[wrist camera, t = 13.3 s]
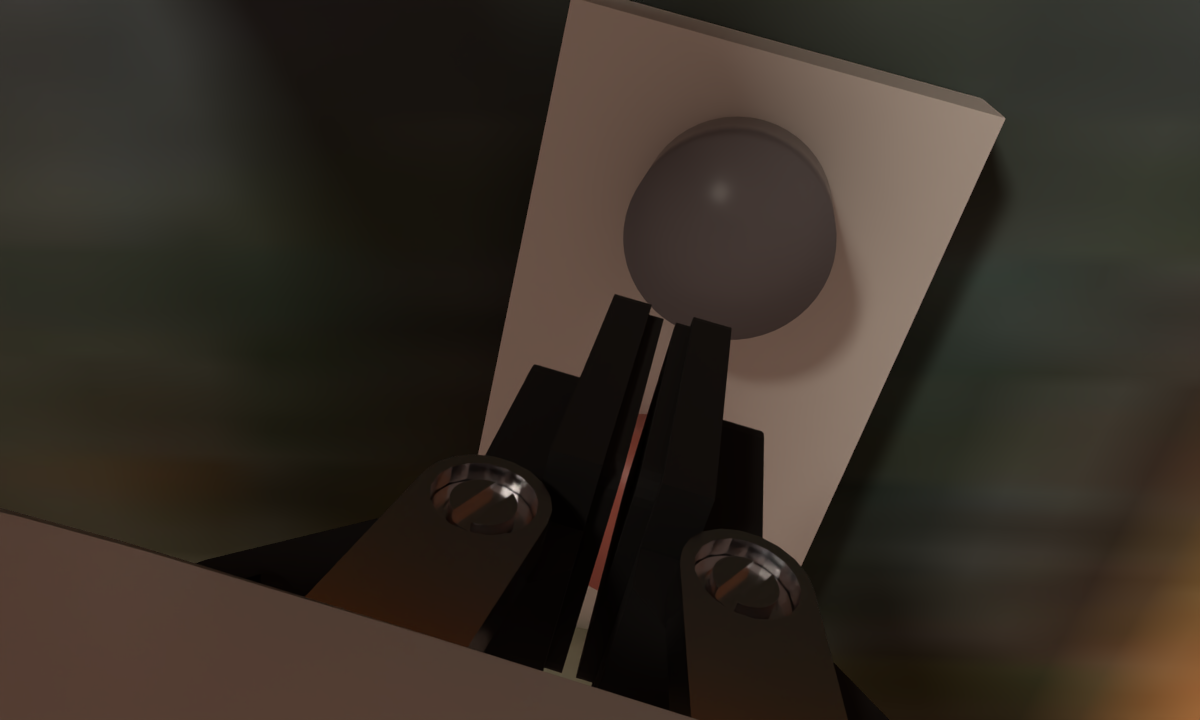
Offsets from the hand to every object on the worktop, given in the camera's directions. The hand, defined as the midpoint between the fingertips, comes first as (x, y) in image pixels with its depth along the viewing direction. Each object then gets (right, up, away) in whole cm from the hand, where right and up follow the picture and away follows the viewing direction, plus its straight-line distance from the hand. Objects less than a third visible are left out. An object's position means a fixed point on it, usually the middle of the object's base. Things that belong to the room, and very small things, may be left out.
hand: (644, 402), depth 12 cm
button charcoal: (+3, +4, +11) cm, 12 cm away
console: (+1, -2, +18) cm, 18 cm away
